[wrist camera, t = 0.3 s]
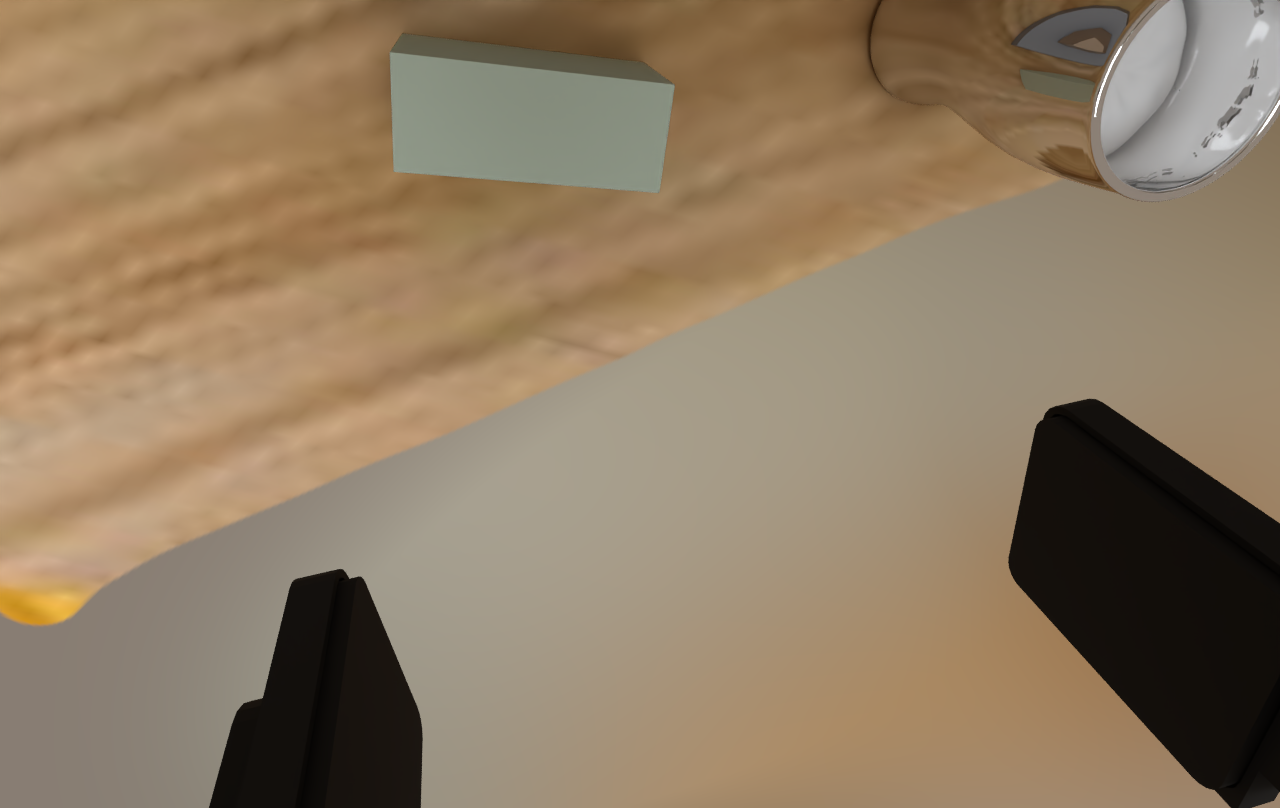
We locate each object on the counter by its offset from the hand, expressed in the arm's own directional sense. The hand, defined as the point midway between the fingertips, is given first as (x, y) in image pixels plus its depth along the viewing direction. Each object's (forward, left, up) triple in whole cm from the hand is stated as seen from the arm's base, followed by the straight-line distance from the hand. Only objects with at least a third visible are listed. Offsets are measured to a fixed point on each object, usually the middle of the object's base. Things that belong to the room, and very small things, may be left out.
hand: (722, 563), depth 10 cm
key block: (+1, -1, -28) cm, 28 cm away
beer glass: (-17, -6, -28) cm, 33 cm away
